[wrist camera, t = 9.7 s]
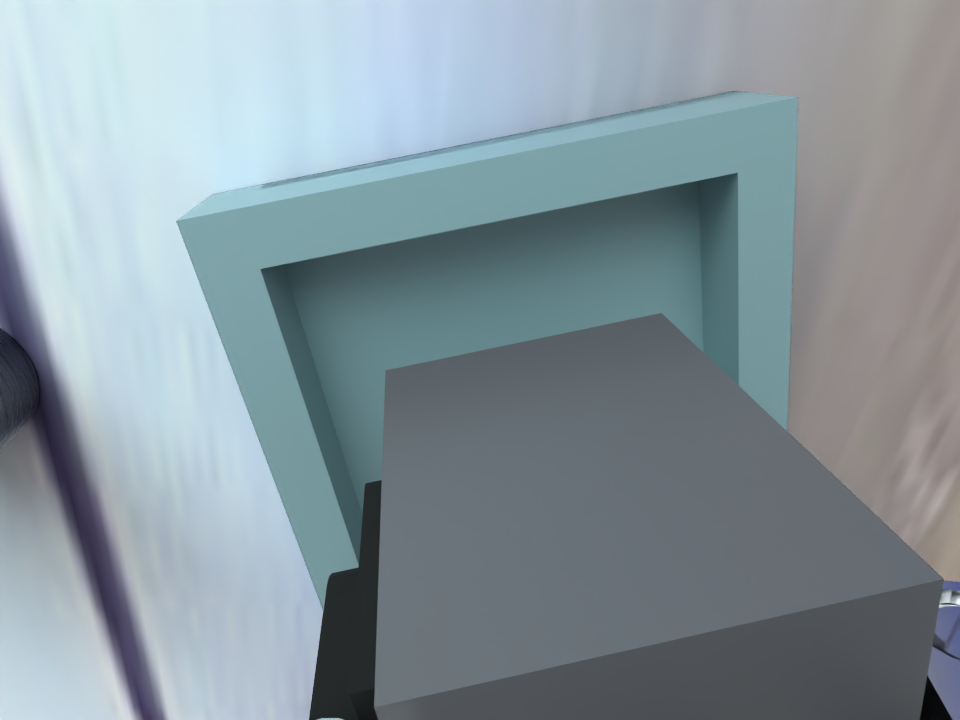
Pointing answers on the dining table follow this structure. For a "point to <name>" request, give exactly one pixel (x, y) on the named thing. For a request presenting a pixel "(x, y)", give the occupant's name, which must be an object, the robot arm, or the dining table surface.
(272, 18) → the dining table surface
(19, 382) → the post
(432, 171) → the end holder
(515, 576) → the block
